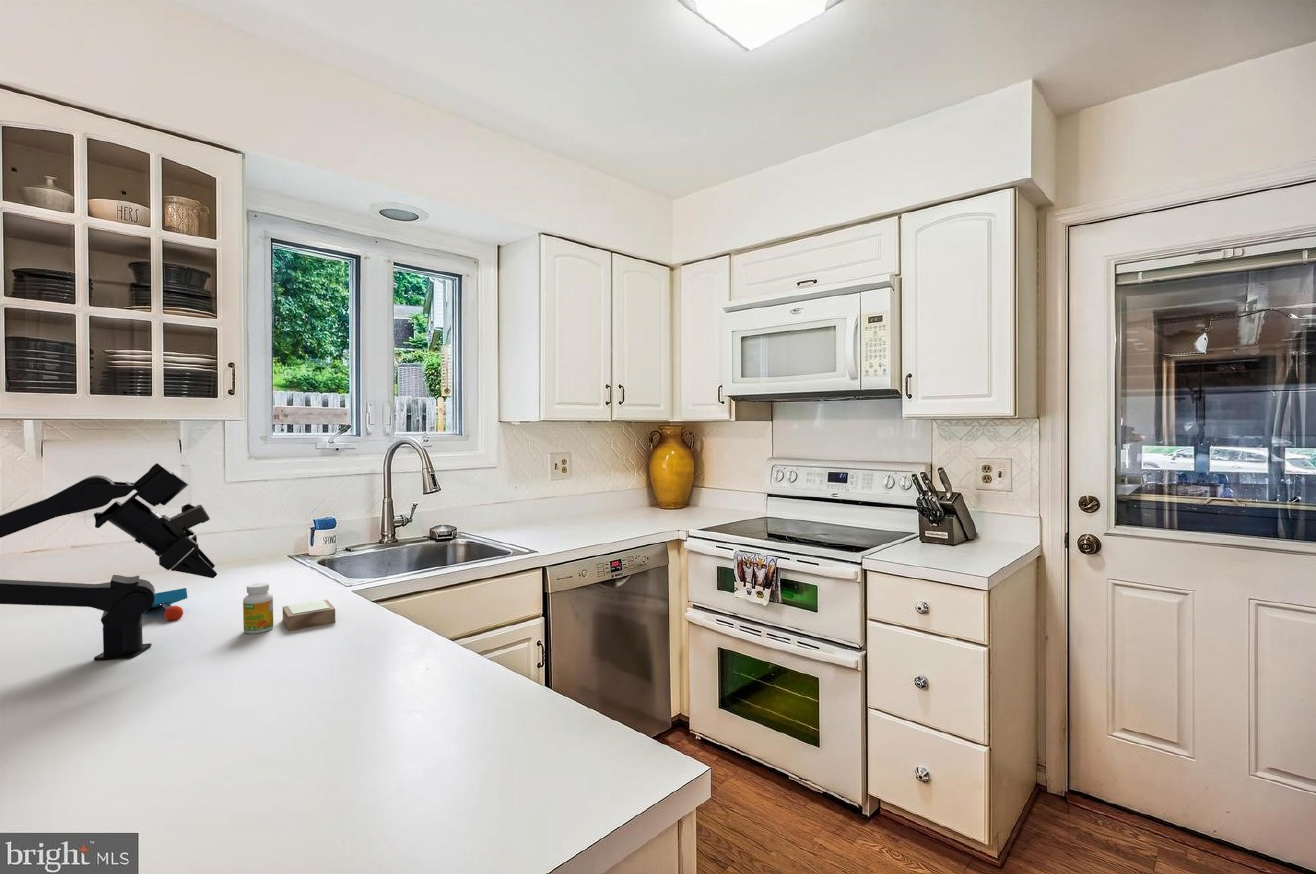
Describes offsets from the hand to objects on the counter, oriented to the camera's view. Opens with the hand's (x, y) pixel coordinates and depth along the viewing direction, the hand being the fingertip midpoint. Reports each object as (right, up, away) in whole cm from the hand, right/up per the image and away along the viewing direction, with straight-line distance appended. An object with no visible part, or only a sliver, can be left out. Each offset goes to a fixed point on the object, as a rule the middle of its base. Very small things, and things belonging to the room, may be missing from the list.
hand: (214, 571), depth 129 cm
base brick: (+13, -13, +11) cm, 22 cm away
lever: (-24, -14, +17) cm, 33 cm away
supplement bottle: (+6, -14, +5) cm, 16 cm away
